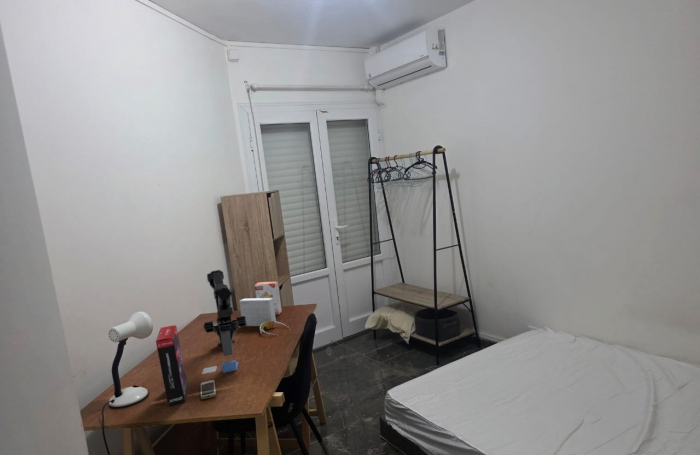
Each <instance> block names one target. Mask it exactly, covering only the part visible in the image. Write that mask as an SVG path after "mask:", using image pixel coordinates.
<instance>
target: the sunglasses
mask: <svg viewBox="0 0 700 455" xmlns="http://www.w3.org/2000/svg"><path fill="white" fill-rule="evenodd" d="M275 323H276V324H278V325H280V324H281V325H283V326H285V327H286V328H289V329H290V327H289V326H288V325H287V324H286V323H282V322H279V321H277V320H276V321H266V322H263V323H262V324H261V325H260V326H259V332H260V335H263V334H262V333H264V334H267V335H272V336H275V337H278V336H279V335H277V334H275V333H271V332H267V331H266V330H269V329H272V328H276V324H275ZM265 329H266V330H265Z"/></svg>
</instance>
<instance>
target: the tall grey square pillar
mask: <svg viewBox="0 0 700 455" xmlns="http://www.w3.org/2000/svg"><path fill="white" fill-rule="evenodd" d="M230 335H231V331H225V332H221V341H222V345H221V346H222V352H223V357H225V356H226V357H227V356H232V355H233V354H234V346H233V343H232V340H233V339H232V340H231V337H230Z"/></svg>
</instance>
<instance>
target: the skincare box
mask: <svg viewBox="0 0 700 455" xmlns="http://www.w3.org/2000/svg"><path fill="white" fill-rule="evenodd" d="M238 302H239V307H240V308H239V309H240V316H245V318H246V322H247V325H246V326H245V327H260V325H261V324H262V323H263V322H266V321H276V322H277V318H276V315H275V309H274V301H273V298H256V297H254V298H253V297H252V298H242V299H240V300H239V301H238ZM275 324H277V323H275Z"/></svg>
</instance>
